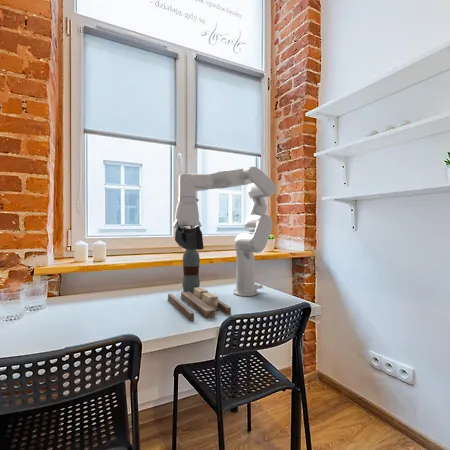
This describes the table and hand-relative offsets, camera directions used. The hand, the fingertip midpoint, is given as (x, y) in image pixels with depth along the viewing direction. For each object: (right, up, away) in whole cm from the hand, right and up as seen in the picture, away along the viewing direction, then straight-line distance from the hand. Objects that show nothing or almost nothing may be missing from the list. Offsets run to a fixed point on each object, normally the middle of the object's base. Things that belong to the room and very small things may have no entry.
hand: (187, 241), depth 135 cm
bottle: (-1, -29, +26) cm, 39 cm away
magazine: (0, -4, 0) cm, 4 cm away
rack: (+4, -29, -3) cm, 30 cm away
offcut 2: (+10, -29, -4) cm, 31 cm away
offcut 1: (+5, -29, +6) cm, 30 cm away
